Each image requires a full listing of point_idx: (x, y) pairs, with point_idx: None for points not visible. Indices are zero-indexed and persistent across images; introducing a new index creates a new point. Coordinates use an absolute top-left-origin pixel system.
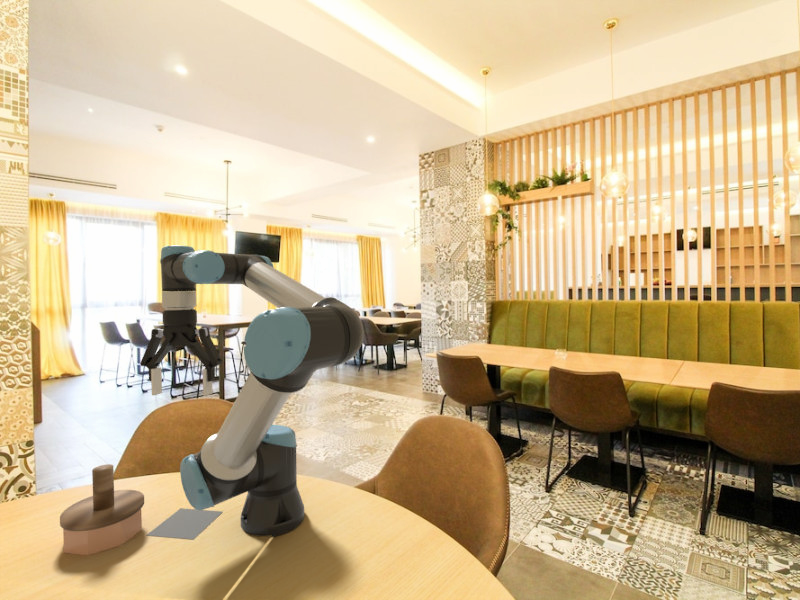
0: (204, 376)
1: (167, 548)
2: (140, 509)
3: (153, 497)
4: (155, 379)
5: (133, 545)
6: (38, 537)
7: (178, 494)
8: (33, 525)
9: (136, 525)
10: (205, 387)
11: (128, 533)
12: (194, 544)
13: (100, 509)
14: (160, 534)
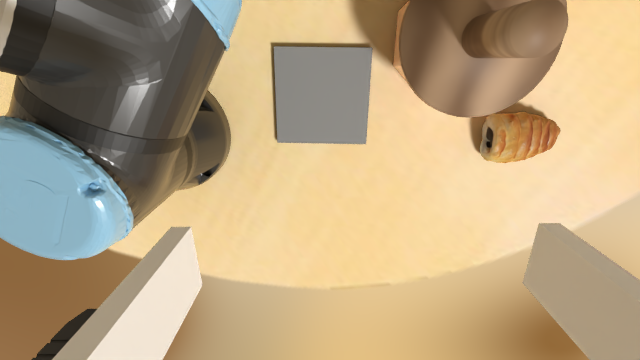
0: (90, 329)
1: (309, 20)
2: None
3: (448, 181)
4: (630, 314)
5: (379, 21)
6: (588, 20)
7: (406, 196)
8: (629, 59)
9: (398, 51)
10: (146, 261)
11: (399, 29)
12: (268, 39)
13: (478, 15)
14: (346, 54)
